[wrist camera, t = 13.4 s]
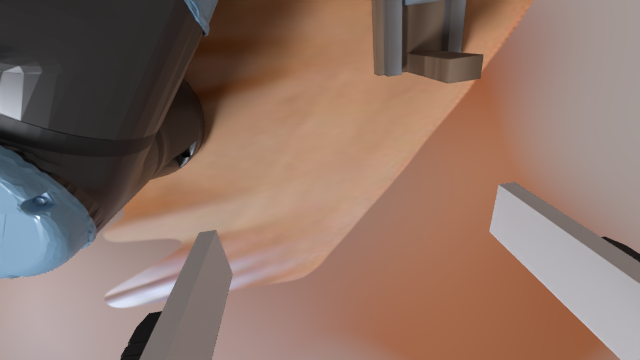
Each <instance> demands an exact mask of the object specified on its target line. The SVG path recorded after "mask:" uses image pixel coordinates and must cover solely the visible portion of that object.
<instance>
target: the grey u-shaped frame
mask: <svg viewBox="0 0 640 360" xmlns="http://www.w3.org/2000/svg"><path fill="white" fill-rule="evenodd" d="M465 8H466V0H440V1H434V2H427V3H420V4H413V5H405V6H403V0H372V22H373V51H374V74H375V75H378V76H381V75H385V76H388V77H389V76H395V75H402V72H410V73H413V74H417V75H420V76H424V77H427V78H430V79H434V80H437V81H441V82H444V83H455V82H461V81H468V80H475V79H480V77H481V70H482V62H483V55H482V54H470V53H461V49H462V39H463V29H464V18H465Z"/></svg>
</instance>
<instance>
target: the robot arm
mask: <svg viewBox="0 0 640 360" xmlns="http://www.w3.org/2000/svg"><path fill="white" fill-rule="evenodd" d="M217 3H218V0H0V278H17V277H21V276H22V277H26V276H27V277H29V276H35V275H40V274H43V273H46V272H49V271H51V270H54V269H56V268H58V267H59V266H61V265H62V264H64V263H65V262H67V261H68V260H69V259H70V258H71V257H73V256H74V255H75V254H76V253H77V252H78V251H79V250H80V249H82V248H85V247H87V246H89V245H90V243H92V242H93V241H94V239H95V238H96V235H97V233H98V232H99V231H100V230H101V229H102V228H103V227H104V226H105V225H106V224H107V223H108V222H109V221H110V220H111V219H112V218H113V217H114V216H115V215H116V214H117V213H118V212H119V211H120V210H121V209H122V208H123V207H124V206H125V205H126V204H127V203H128V202H129V201H130V200H131V199H132V198H133V197H134V196H135V195H136V194H137V193H138V192H139V191H140V190H141V189H142V188H143V187H144V186H145V185H146V184H147V183H148V181H149V180H152V179H155V178H158V177H162V176H165V175H168V174H171V173H173V172H175V171H177V170H179V169H180V168H182V167H183V166H184V165H186V164H187V163H188V162H189V161H190V159H191V158H192V157H193V156H194V155H195V153H196V152H197V151H198V149H199V147H200V145H201V143H202V140H203V136H204V126H205V125H204V116H203V111H202V108H201V105H200V103H199V100H198V98H197V97H196V95H195V93H194V91H193V90H192V88H191V87H190V86H189V84H188V83H187V82H186V81H185V80H184V79H183V78H184V76H185V74H186V71H187V69H188V67H189V65H190V63H191V61H192V59H193V56H194V54H195V52H196V50H197V48H198V46H199V44H200V42H201V39H202V37H203V35H204V36H206V37H207V35H208V33H209V30H210V28H209V22H210V20H211V17H212V15H213V12H214V10H215V8H216V5H217ZM490 233H491V234H492V235H493V236H495V238H497V239H498V240H499V241H500V242H501V243H502V244H503V245H504V246H505V247H506V248H507V249H508V250H509V251H510V252H511V253H512V254H513V255H514V256H515V257H516V258H517V259H518V260H519V261H520V262H521V263H522V264H523V265H524V266H525V267H526V268H527V269H528V270H529V271H530V272H531V273H532V274H533V275H534V276H535V277H537V278H538V279H539V280H540V281H541V282H542V283H543V284H544V285H545V286H546V287H547V288H548V289H549V290H550V291H551V292H552V293H553V294H554V295H555V296H556V297H557V298H558V299H559V300H560V301H561V302H562V303H563V304H564V305H565V306H566V307H567V308H568V309H569V310H570V311H571V312H572V313H573V314H574V315H576V316H577V317H578V318H579V319H580V320H581V321H582V322H583V323H584V324H585V325H586V326H587V327H588V328H589V329H590V330H591V331H592V332H593V333H594V334H595V335H596V336H597V337H598V338H599V339H600V340H601V341H602V342H603V343H604V344H605V345H606V346H607V347H609V349H610V350H612V351H613V352H614V353H615V354H616V355H617V356H618V357H619V358H620V359H621V360H640V254H639V253H637V252H636V251H634V250H633V249H631V248H629V247H628V246H626V245H624V244H622V243H619V242H617V241H614V240H612V239H609V238H607V237H600V236H598V235H597V234H595V233H593V232H592V231H590V230H589V229H587V228H586V227H584V226H583V225H581V224H579V223H578V222H576V221H575V220H573V219H572V218H570V217H568V216H567V215H565V214H564V213H562V212H561V211H559V210H558V209H556V208H554V207H553V206H551V205H550V204H548V203H547V202H545V201H544V200H542V199H540V198H539V197H537V196H536V195H534V194H533V193H531V192H530V191H528V190H526V189H525V188H523V187H522V186H520V185H519V184H517V183H516V182H512V183H506V184H500V185H499V186H498V191H497V196H496V202H495V207H494V212H493V217H492V222H491V227H490ZM232 275H233V273H232V271H231V268H230V265H229V263H228V260H227V257H226V255H225V252H224V249H223V247H222V244H221V241H220V239H219V236H218V233H217V231H216V230H213V231H206V232H200V233H199V234H198V236H197V239H196V241H195V243H194V245H193V247H192V249H191V251H190V253H189V255H188V258H187V260H186V262H185V264H184V266H183V268H182V270H181V272H180V275H179V277H178V279H177V281H176V283H175V285H174V287H173V289H172V292H171V294H170V296H169V298H168V300H167V302H166V305H165V306H164V309H163V311H160V312H155V313H149V314H148V315H147V316H146V318H145V319H144V320H143V321H142V322H141V323H140V324H139V325H138V326H137V328H136V329H135V331H134V333H133V335H132V337H131V338H130V340H129V342H128V346H127V347H126V348H125V350H124V352H123V353H122V355H121V360H212V356H213V352H214V348H215V344H216V340H217V336H218V332H219V328H220V324H221V320H222V315H223V312H224V308H225V304H226V300H227V295H228V291H229V287H230V283H231V279H232Z"/></svg>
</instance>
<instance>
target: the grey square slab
mask: <svg viewBox="0 0 640 360" xmlns="http://www.w3.org/2000/svg"><path fill="white" fill-rule="evenodd" d="M434 1H440V0H403V6H405V5H413V4H420V3H427V2H434Z"/></svg>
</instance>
